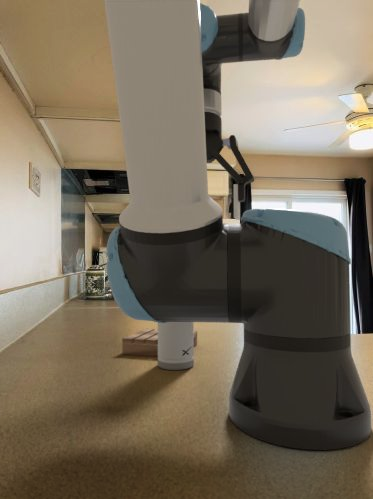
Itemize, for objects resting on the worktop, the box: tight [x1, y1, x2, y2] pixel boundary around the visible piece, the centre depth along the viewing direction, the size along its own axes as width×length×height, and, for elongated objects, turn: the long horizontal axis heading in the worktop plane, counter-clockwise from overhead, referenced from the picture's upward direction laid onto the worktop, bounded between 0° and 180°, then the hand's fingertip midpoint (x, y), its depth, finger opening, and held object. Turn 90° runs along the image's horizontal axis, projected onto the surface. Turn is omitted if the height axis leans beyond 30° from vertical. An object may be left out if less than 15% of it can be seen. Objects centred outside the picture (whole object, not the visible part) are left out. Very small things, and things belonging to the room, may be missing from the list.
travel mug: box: [157, 322, 195, 371], centre depth 64 cm, size 6×7×20 cm
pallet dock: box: [121, 328, 198, 357], centre depth 76 cm, size 12×12×3 cm
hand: (203, 220), depth 74 cm, fingers open, 13 cm apart
